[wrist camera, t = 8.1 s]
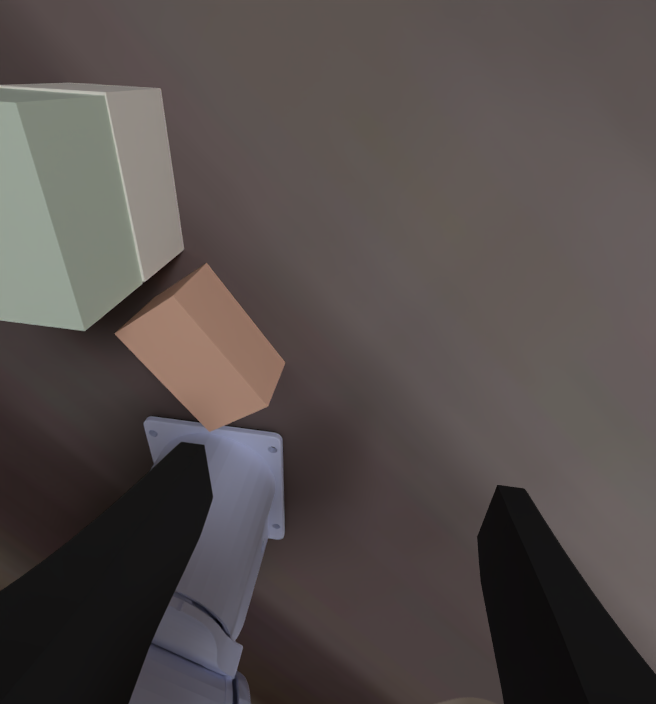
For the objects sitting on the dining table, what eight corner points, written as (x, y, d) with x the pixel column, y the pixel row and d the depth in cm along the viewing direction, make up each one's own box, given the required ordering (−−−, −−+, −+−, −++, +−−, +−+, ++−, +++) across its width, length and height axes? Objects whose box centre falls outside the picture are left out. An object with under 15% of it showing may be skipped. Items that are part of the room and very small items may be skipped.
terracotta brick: (285, 361, 21) (267, 406, 18) (233, 386, 23) (209, 432, 20) (207, 261, 19) (173, 295, 16) (155, 296, 20) (114, 333, 18)
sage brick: (142, 283, 16) (84, 330, 13) (54, 273, 16) (-21, 317, 13) (105, 95, 13) (15, 102, 10) (-5, 87, 13) (-124, 91, 10)
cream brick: (184, 249, 19) (145, 281, 16) (109, 241, 19) (56, 272, 16) (161, 88, 15) (105, 92, 12) (70, 82, 16) (-5, 85, 13)
